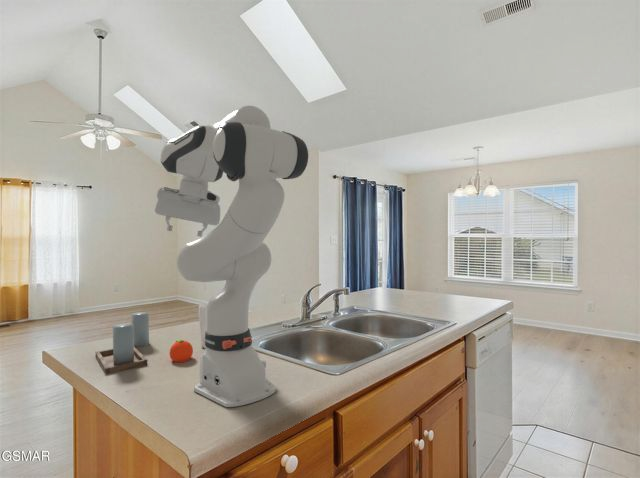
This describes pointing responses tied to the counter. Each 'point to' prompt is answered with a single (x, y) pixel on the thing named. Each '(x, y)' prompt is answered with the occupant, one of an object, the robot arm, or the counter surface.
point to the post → (140, 328)
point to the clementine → (181, 351)
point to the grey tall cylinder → (123, 344)
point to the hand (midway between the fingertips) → (184, 233)
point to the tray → (107, 364)
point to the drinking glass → (203, 323)
